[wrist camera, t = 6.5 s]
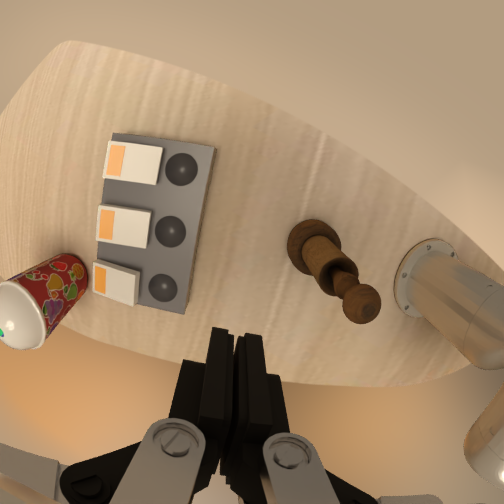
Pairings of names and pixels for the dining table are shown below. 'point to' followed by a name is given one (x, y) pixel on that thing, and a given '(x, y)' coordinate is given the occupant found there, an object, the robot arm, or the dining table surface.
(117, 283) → the rocker
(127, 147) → the block
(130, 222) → the block
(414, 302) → the robot arm
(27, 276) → the smoothie
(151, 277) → the power strip
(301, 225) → the mortar and pestle
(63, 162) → the dining table surface
